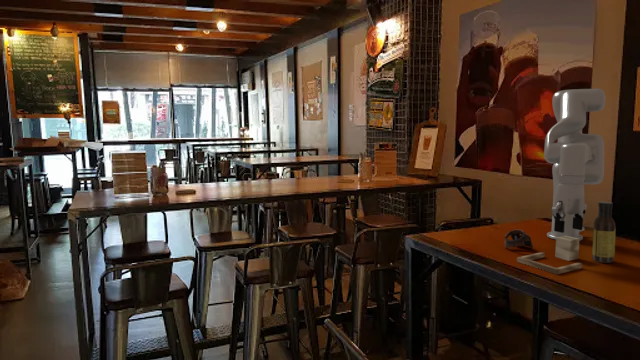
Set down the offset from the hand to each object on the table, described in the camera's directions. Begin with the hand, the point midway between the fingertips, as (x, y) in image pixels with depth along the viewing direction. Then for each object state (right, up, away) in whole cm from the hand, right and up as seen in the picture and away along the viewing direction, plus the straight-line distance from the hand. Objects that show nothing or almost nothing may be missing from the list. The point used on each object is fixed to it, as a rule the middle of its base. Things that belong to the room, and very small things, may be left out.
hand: (568, 230), depth 150 cm
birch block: (+1, -10, +2) cm, 10 cm away
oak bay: (-9, -11, -5) cm, 15 cm away
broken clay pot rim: (-11, -8, +14) cm, 20 cm away
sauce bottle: (+10, -10, -2) cm, 15 cm away
